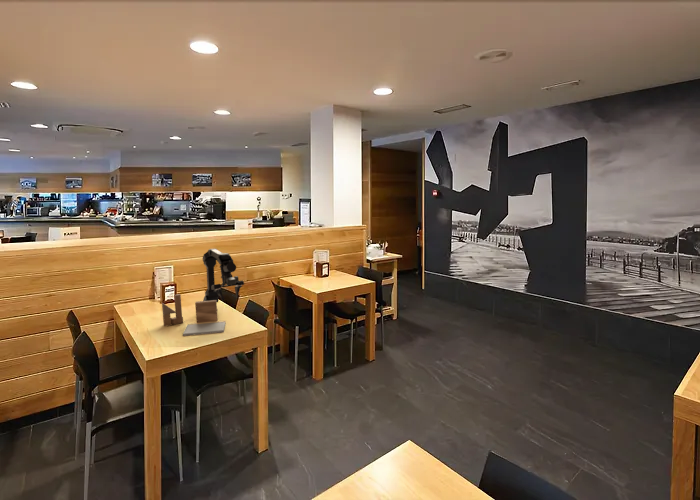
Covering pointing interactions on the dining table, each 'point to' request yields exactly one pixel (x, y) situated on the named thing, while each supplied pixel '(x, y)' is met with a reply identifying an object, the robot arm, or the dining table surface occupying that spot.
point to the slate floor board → (204, 328)
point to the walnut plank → (206, 311)
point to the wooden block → (168, 311)
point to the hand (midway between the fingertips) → (230, 299)
